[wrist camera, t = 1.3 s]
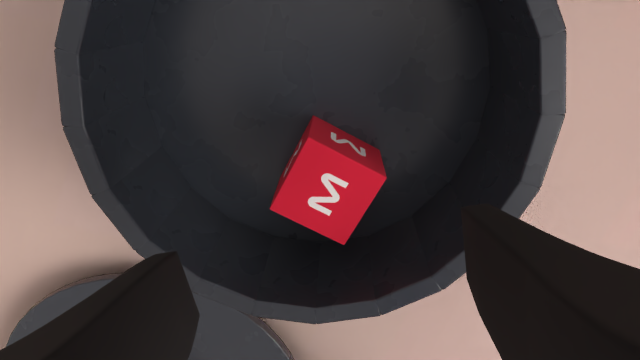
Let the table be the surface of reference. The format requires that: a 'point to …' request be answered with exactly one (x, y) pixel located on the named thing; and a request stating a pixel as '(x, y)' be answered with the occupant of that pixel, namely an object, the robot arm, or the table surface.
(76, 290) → the lid
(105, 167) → the pot
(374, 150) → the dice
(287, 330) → the table surface
